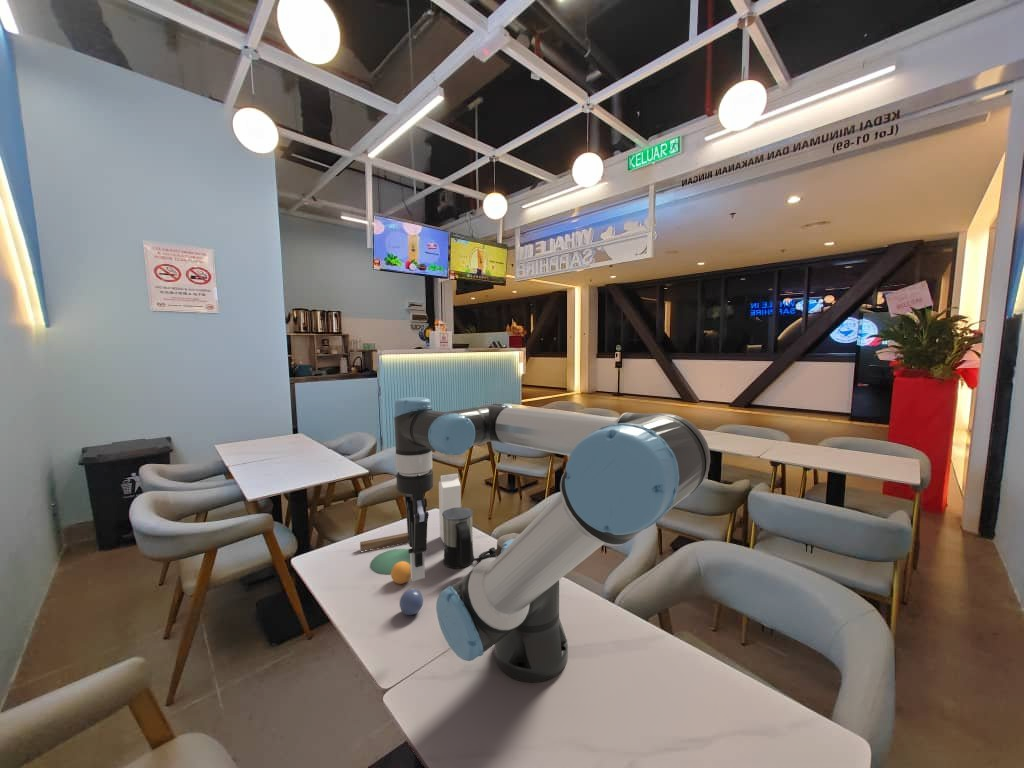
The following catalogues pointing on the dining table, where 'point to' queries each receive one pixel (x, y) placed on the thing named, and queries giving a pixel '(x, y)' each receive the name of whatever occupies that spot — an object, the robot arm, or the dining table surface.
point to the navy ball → (411, 602)
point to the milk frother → (460, 538)
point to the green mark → (389, 560)
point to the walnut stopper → (384, 542)
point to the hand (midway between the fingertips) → (417, 577)
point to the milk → (448, 496)
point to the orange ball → (401, 572)
